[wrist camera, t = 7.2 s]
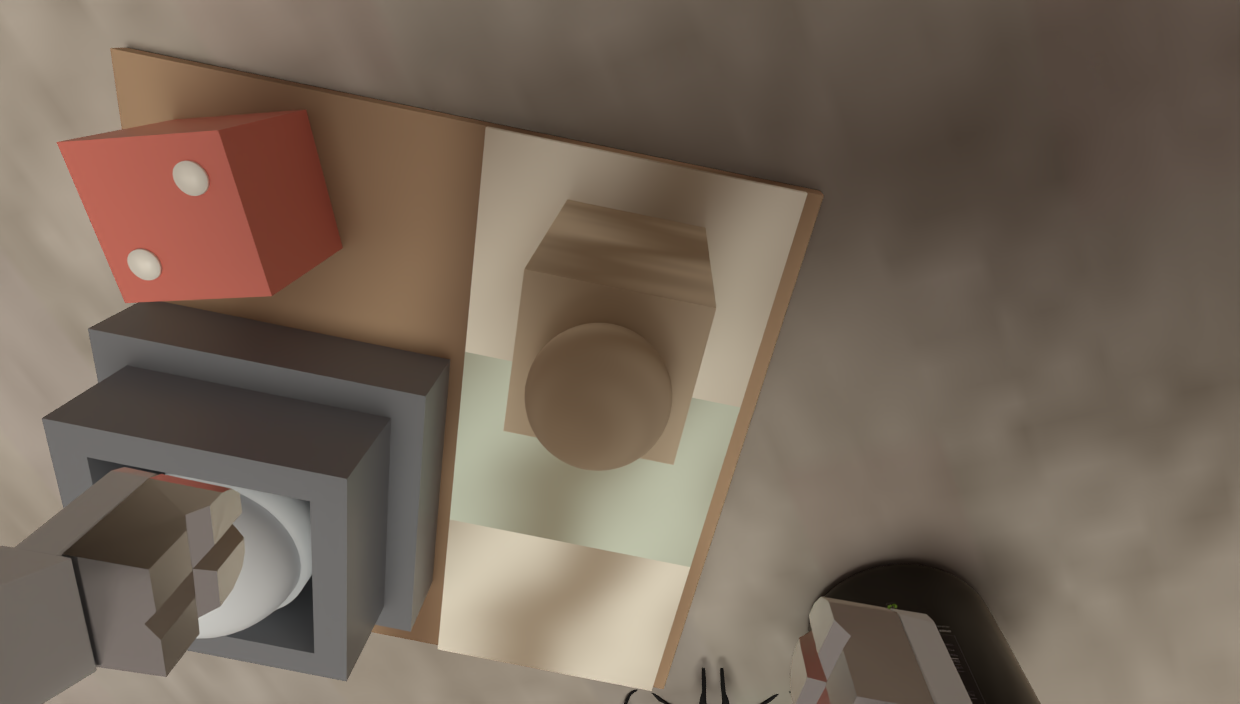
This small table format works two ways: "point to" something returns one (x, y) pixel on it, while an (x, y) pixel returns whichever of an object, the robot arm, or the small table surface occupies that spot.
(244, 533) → the dome
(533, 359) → the pawn
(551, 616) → the board
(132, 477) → the robot arm
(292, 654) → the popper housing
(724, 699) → the creature
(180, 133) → the die
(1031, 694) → the supplement bottle
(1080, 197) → the small table surface
